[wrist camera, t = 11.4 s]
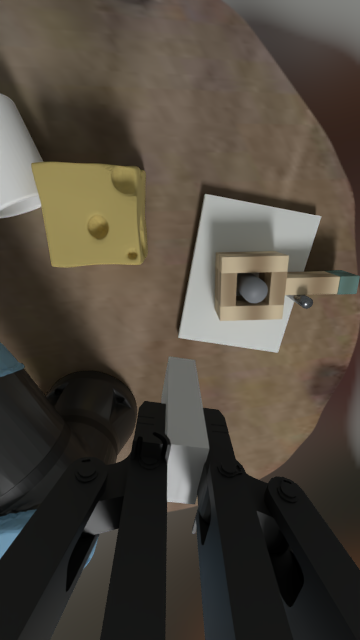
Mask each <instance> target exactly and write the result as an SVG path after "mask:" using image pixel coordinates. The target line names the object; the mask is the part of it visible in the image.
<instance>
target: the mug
mask: <svg viewBox="0 0 360 640" xmlns="http://www.w3.org/2000/svg"><path fill="white" fill-rule="evenodd" d="M36 162H43V160H42V158H41V156H40V154H39V152H38V150H37V148H36V146H35V144H34V142H33V140H32V137H31V135H30V133H29V131H28V129H27V127H26V125H25V123H24V121H23V119H22V117H21V115H20V113H19V111H18V109H17V107H16V105H15V103H14V102H13V101H12V100H11V99H10V98H9V97H7V96H5V95H3V94H0V218H7V217H12V216H16V215H20V214H23V213H26V212H29V211H32V210H35V209H37V208H40V207H41V202H40V198H39V194H38V191H37V187H36V183H35V180H34V176H33V172H32V168H31V163H36Z"/></svg>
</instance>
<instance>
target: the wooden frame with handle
mask: <svg viewBox="0 0 360 640" xmlns="http://www.w3.org/2000/svg"><path fill="white" fill-rule="evenodd" d="M288 262H289V256H288V255H285V254H282V253H279V252H276V251H253V252H216V263H215V311H216V313H217V316H218V318H219V320H220V321H237V320H272V319H282V317H283V308H284V298H285V295H310V294H356V292H357V287H358V282H359V276H358V275H355V274H352V273H348V272H345V271H342V270H333V271H308V272H287V271H288ZM257 272H259V278H260V279H261V280H262V281H264V282H265V283H266V285H267V288H268V292H267V295H266V297H265V298H264V300H262V301H261V302H259V303H250V302H248V301H246V300H245V298H244V297H243V296H236V287H237V273H257Z"/></svg>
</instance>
